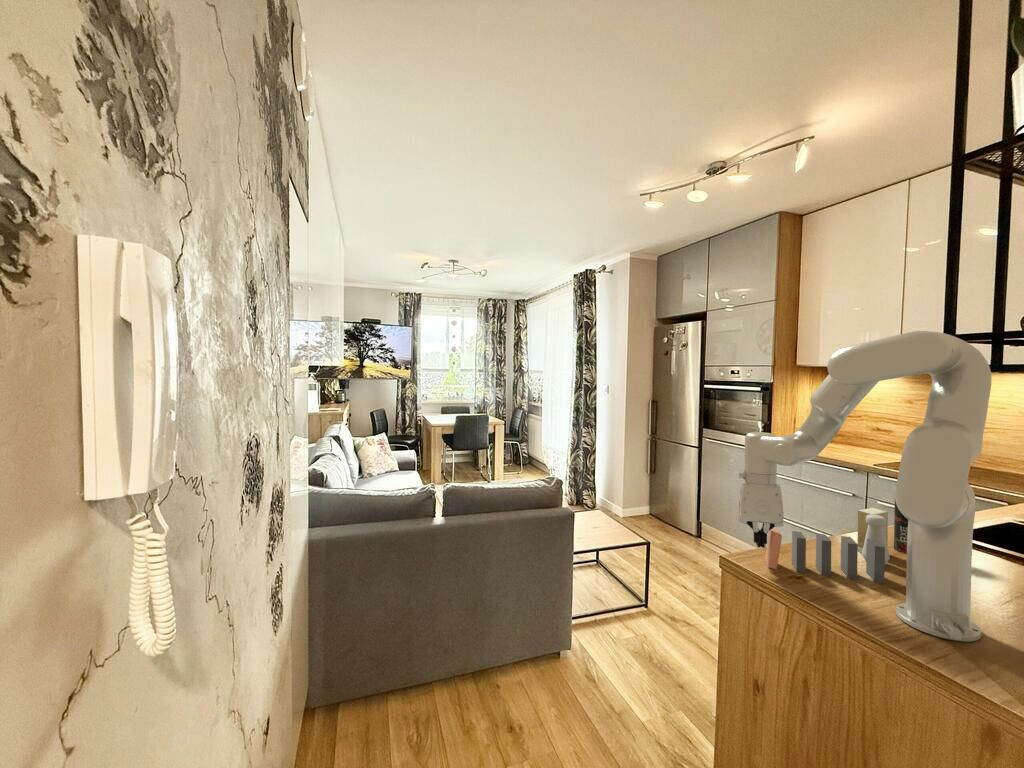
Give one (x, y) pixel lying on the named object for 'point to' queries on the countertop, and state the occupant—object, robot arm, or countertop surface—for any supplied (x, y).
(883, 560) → the tile
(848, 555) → the tile
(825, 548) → the tile
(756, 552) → the countertop surface
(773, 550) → the head tile
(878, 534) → the salt shaker
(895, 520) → the deodorant
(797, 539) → the tile
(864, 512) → the skincare box
